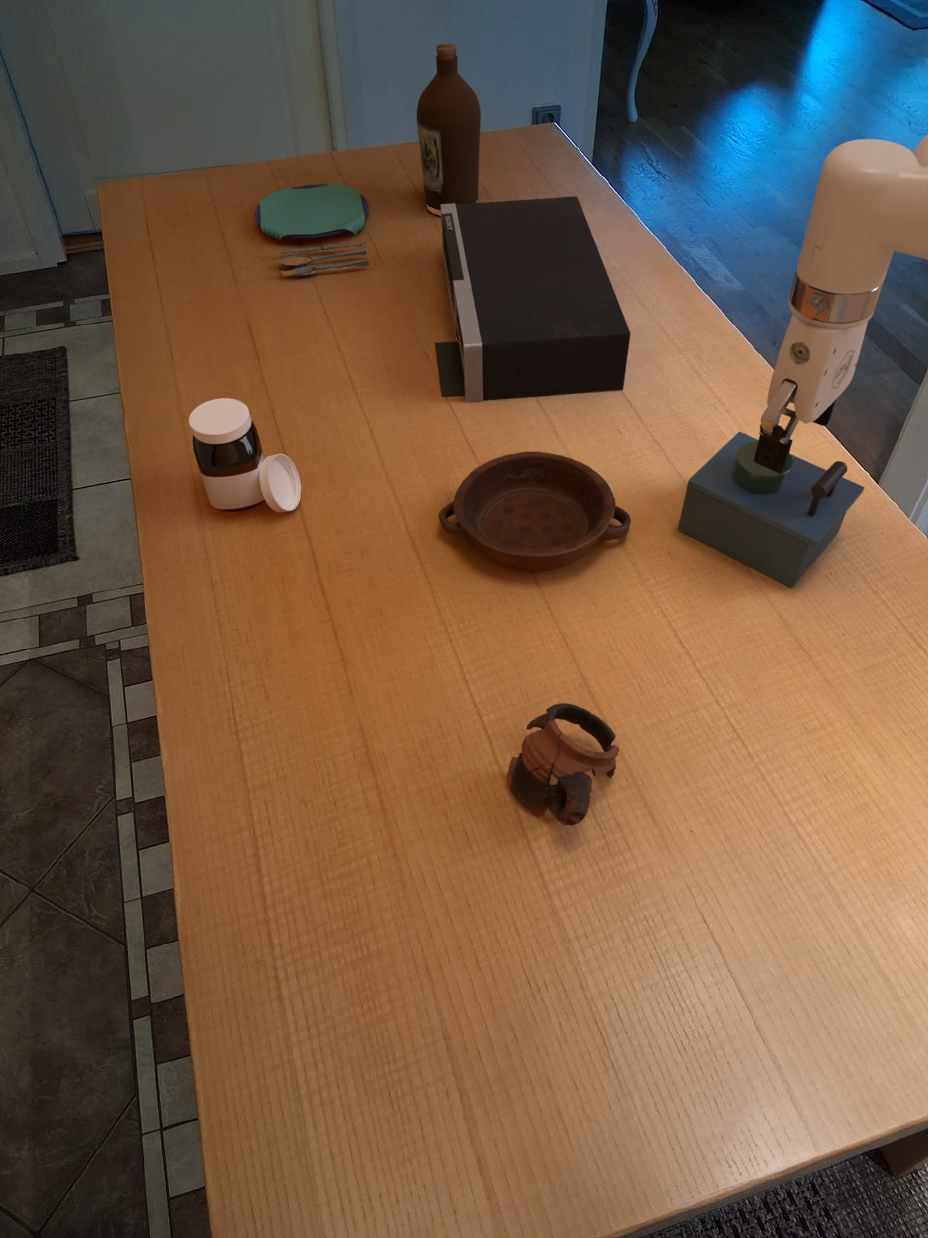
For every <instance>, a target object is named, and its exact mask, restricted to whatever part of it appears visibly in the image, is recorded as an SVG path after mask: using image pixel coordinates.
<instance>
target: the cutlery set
mask: <svg viewBox="0 0 928 1238" xmlns="http://www.w3.org/2000/svg"><path fill="white" fill-rule="evenodd" d="M369 207H370V204H369V202H368V200H367V199H366V197H365V196H364V195H363V194H361V193H360V190H357V189H356V188H353V187H351V186H350V187H349V186H347V185H343V184H339V183H330V184H326V183H325V184H306V185H300V186H294V187H290V188H288V187H287V188H285V187H284V188H279V189H278V190H275V191H274V192H271V193H269V194H268V195H266V196H264V197H263V198H261V199H260V200H259V205H258V206H257V207H256V209H255V213H254V219H255V221H256V223H257V226H259V227H260V228H261V231H262V232H263V234H264V235H266V236H268V237H271V238H274V239H277V238H278V239H277V240H279V241H281V240H282V238H286V239H293V240H318V239H321V238H327V237H332V236H333V237H334V236H336V235H339V234H341V233H345V232H347V231H350V232H352V233H353V234H354V233H356V232H357V231H358V230H360V229H361V230H363V228H364V226H365V223H366V217H367V216H368V215H369ZM361 230H360V231H361ZM358 234H359V233H357V234H356V235H355V236H357V235H358ZM362 245H365V246H366V242H365V241H364V242H362V243H353V244H339V245H337V244H332V243H330V244H328V245H325V244H324V243H323V244H322V246H320V247H319V246H317V247H304V248H294V249H286V250H282V251H279V252H278V255H279V254H287V253H296V252H306V253H312V252H311V251H316V252H319V251H318V250H324V251H325V250H327V251H330V249H335V248H337V249H340V248H339V247H345V248H351V247H350V246H356V247H363V246H362ZM328 249H329V250H328ZM335 250H336V249H335ZM325 252H326V251H325ZM367 255H368V252H367V248H362V249H356V250H349V251H343V252H337V253H332V254H327V255H322V256H319V257H314V256H312V255H309V254H292V255H288V254H287V256H284V257H282V258H280V259H278V264H279V265H282V266H285V264H283V263H282V261H283V260H286V259H288V258H293V257H307V258H309V259H311V261H309V262H307V263H302V264H298V265H286V266H285V267H289V266H301V267H294V269H295V271H296V272H295V271H294V272H295V273H292V274H305V273H311V272H312V271H317V272H318V271H327V270H326V269H331V268H342V267H351V266H361V267H369V266H370V260H369V259H368V258H365V259H361V260H353V261H349V262H344V263H339V264H331V265H329V264H328V265H325V264H324V265H316V263H314V264H311V263H313V262H317V261H316V260H318V261H322V260H329V259H336V258H342V257H343V258H344V257H353V256H355V257H356V256H367ZM312 261H313V262H312ZM306 264H307V265H306ZM302 265H305V266H302ZM279 274H280V273H279ZM292 274H291V275H292ZM280 275H284V274H280Z"/></svg>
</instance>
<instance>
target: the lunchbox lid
mask: <svg viewBox="0 0 928 1238" xmlns="http://www.w3.org/2000/svg"><path fill="white" fill-rule="evenodd" d="M754 441H759V438H758V439H757V438H755V437H753V436H751V435H748V434H746V433H744V432H741V431H738V432H737V433H736V434H735V435H734V436H733V437H731V439H729V440H728V441H727V442H726V443H725V444H724V446H722V447H721V448H720V449H719V450H718V451H717V452H716V453H715V454H714V455H713V456H711V458H709V460H708V461H707V462H706V463H704V464H703V465H702V466H701V467H700V469H698V470H697V471H696V472H695V473H694V474H693V475H692V476H691V477H689V479H688V480H687V486H690V487H692V488H694V489H696V490H698V491H700V492H702V493H704V494H707V495H709V496H711V497H713V498H715V499H717V500H719V501H721V502H723V503H725V504H727V505H729V506H731V507H733V508H735V509H737V510H739V511H741V512H743V513H745V514H748V515H750V516H752V517H754V518H756V519H758V520H760V521H762V522H764V523H766V524H768V525H770V526H772V527H774V528H776V529H778V530H780V531H782V532H784V533H786V534H788V535H791V536H793V537H795V538H797V539H799V540H801V541H803V542H805V543H807V544H809V545H811V546H813V547H815V548H816V547H817V546H818V545H819V543H820V542H821V541H822V540H823V539H824V537H825V536H826V535H827V534H828V533H829V532H830V530H831V529H832V528H833V527H834V526H835V524H836V523H837V522H838V521H839V520H840V519H841V517H842V516H843V515H844V514H845V513H846V514H847V512H848V510H849V509H850V508H851V507H853V505H854V503H855V502H856V501H857V500H858V499H859V498H860V496H861V495H863V493H864V490H865V486H863V485H861V484H858V483H857V482H855V481H852V480H851V479H847V478H845V477H844V476H845V475H846V473H847V472H848V465H847V464H846V463H845V462H844V461H841V460H836V461H835V462H833V463H832V464H831V465H830V467H829V468H828V469H825V468H823V467H820V466H818V465H816V464H814V463H811V462H810V461H807V460H805V459H803V458H800V457H798V456H796V455H794V454H791V456H792V458H793V467H792V470H791V473H790V476H789V479H788V482H787V484H786V486H785V487H784V488H783V489H781V490H780V491H778V492H775V493H770V494H760V493H754V492H751V491H748V490H746V489H744V488H742V487H741V486H740V485H738V484H737V483H736V481H735V480H734V478H733V476H732V469H733V466H734V462H735V458H736V455H737V451H738V450H739V448H740V447H741V446H743V445H744V444H747V443H749V442H754Z"/></svg>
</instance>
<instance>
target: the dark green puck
mask: <svg viewBox="0 0 928 1238" xmlns="http://www.w3.org/2000/svg"><path fill="white" fill-rule="evenodd" d="M757 445H758V441H754V442H749V443H747V444H744V445H743V446H741V447H740V448H739V450H738V451H737V455H736V458H735V462H734V466H733V469H732V476H733V478H734V480H735V481H736V483H737V484H738V485H740V486H741V487H742V488H744V489H746V490H748V491H751V492H754V493H760V494H770V493H775V492H778V491H780V490H781V489H783V488H784V487H785V486H786V484H787V482H788V479H789V476H790V473H791V470H792V467H793V458H792V456H791V455H792V453H790V452H789V455H788V459H787V462H786V466H785V469H784V470H783V471H782V472H781V473H777V472H775V471H773V470H770V469H768V468H766V467H763V466H761V465H759V464H757V463H755V462H754V456H755V452H756V448H757Z"/></svg>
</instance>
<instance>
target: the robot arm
mask: <svg viewBox="0 0 928 1238" xmlns="http://www.w3.org/2000/svg"><path fill="white" fill-rule="evenodd" d="M813 196H814V197H813V199H812V205H811V207H810V213H809V217H808V221H807V225H806V228H805V232H804V237H803V240H802V244H801V249H800V253H799V258H798V261H797V265H796V269H795V274H794V278H793V281H792V285H791V290H790V294H789V298H788V302H787V305H788V309H789V310H790V312H791V313H792V315H791V317H790V319H789V323H788V325H787V329H786V331H785V334H784V337H783V340H782V343H781V345H780V349H779V352H778V356H777V358H776V361H775V366H774V369H773V373H772V375H771V380H770V384H769V388H768V392H767V398H766V404H767V407H766V408H765V410H764V411H763V413H762V414H761V417H760V424H759V431H758V432H759V433H758V435H759V437H758V440H759V441H758V445H757V448H756V452H755V456H754V462H755V463H757V464H759V465H761V466H763V467H766V468H768V469H770V470H773V471H775V472H777V473H781V472H782V471H783V470H784V469H785V466H786V462H787V459H788V455H789V453H790V452H791V448H792V444H793V442H794V440H793V439H791V437H792V434H793V433H794V431H795V429H796V427H797V426H798V423H799V421H801V422H802V423H804V424H810V423H813V424H816V425H819V426H822V427H826V426H827V425H828V424H829V423H830V421H831V417H832V414H833V411H834V408H835V405H836V403H837V399H838V398H839V397H840V396H841V395H842V394H843V392H845V390H846V389H847V388H848V387H849V385H850V384H851V382H852V381H853V380H852V379H853V378H854V375H855V372H856V368H857V364H858V362H859V357H860V354H861V350H862V346H863V343H864V339H865V335H866V331H867V328H868V325H869V324H868V323H869V321H870V320H871V319H872V317H873V316H874V313H875V309H876V306H877V303H878V301H879V297H880V295H881V291H882V288H883V285H884V282H885V279H886V277H887V273H888V270H889V267H890V264H891V261H892V258H893V255H894V252H896V253H900V254H903V255H909V256H912V257H915V258H919V259H923V260H927V261H928V133H927V134H926V135H925V136H923V138H922V139H921V140H920V141H919V143H918V144H916V146H915V148H914V149H913V151H912V150H910V149H909V148H907V147H906V146H904V145H902V144H900V143H897V142H893V141H889V140H885V139H877V138H860V139H853V140H849V141H846V142H843V143H840V144H839V145H837V146H836V147H834V148H833V149H832V150H831V151H830V152H829V153H828V154H827V155H826V158H824V161H823V163H822V167H821V170H820V172H819V176H818V180H817V185H816V189H815V193H814V195H813ZM789 404H793V406H794V410H793V409H790V408H787V407H788V406H789ZM782 415H783V416H786V417H787V418H788V417H789V421H788V422H787V424H786V427H785V429H784V427H783V426H782V425H779V423H780V419H781V417H782Z"/></svg>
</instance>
